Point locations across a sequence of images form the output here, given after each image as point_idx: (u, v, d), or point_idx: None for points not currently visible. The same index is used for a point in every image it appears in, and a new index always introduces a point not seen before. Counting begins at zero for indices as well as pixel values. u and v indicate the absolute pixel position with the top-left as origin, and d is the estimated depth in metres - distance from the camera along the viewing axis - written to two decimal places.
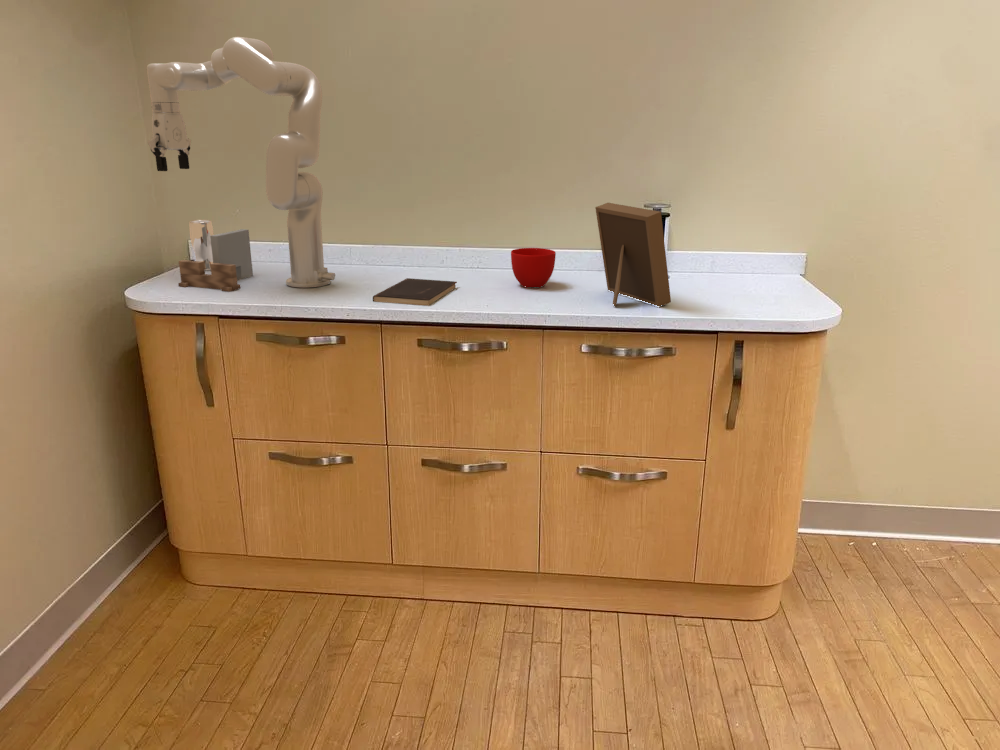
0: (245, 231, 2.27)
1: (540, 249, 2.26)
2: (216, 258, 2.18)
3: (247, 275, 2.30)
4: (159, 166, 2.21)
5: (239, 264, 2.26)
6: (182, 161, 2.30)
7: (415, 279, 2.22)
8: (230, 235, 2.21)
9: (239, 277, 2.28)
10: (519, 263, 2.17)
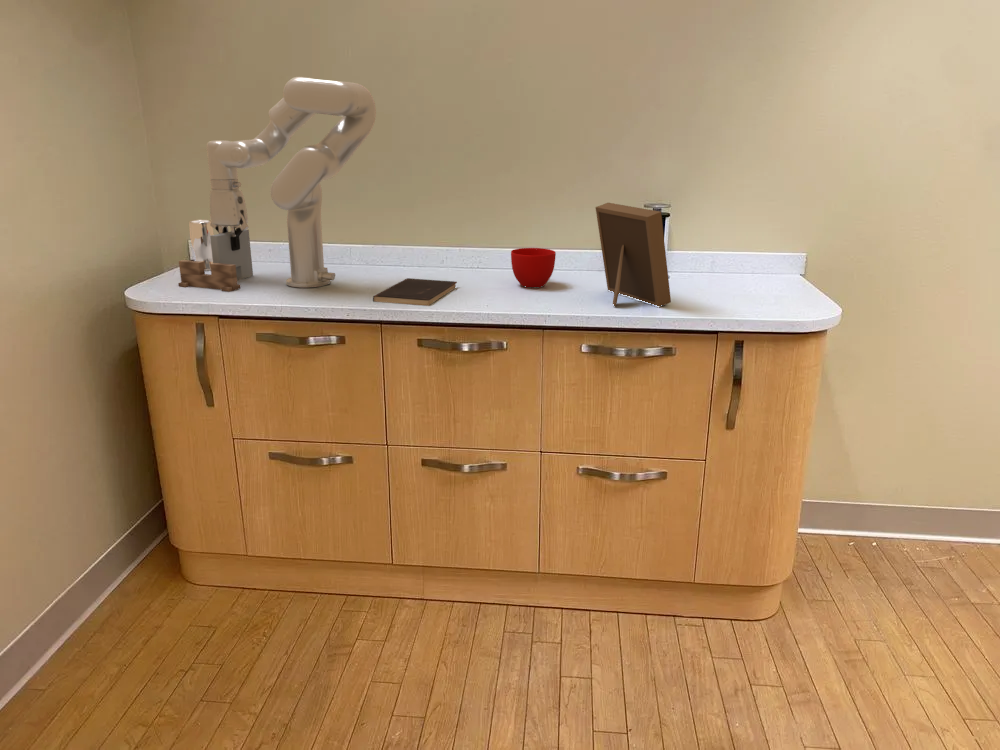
0: (245, 231, 2.27)
1: (540, 249, 2.26)
2: (216, 258, 2.18)
3: (247, 275, 2.30)
4: (238, 245, 2.23)
5: (239, 264, 2.26)
6: None
7: (415, 279, 2.22)
8: (230, 235, 2.21)
9: (239, 277, 2.28)
10: (519, 263, 2.17)
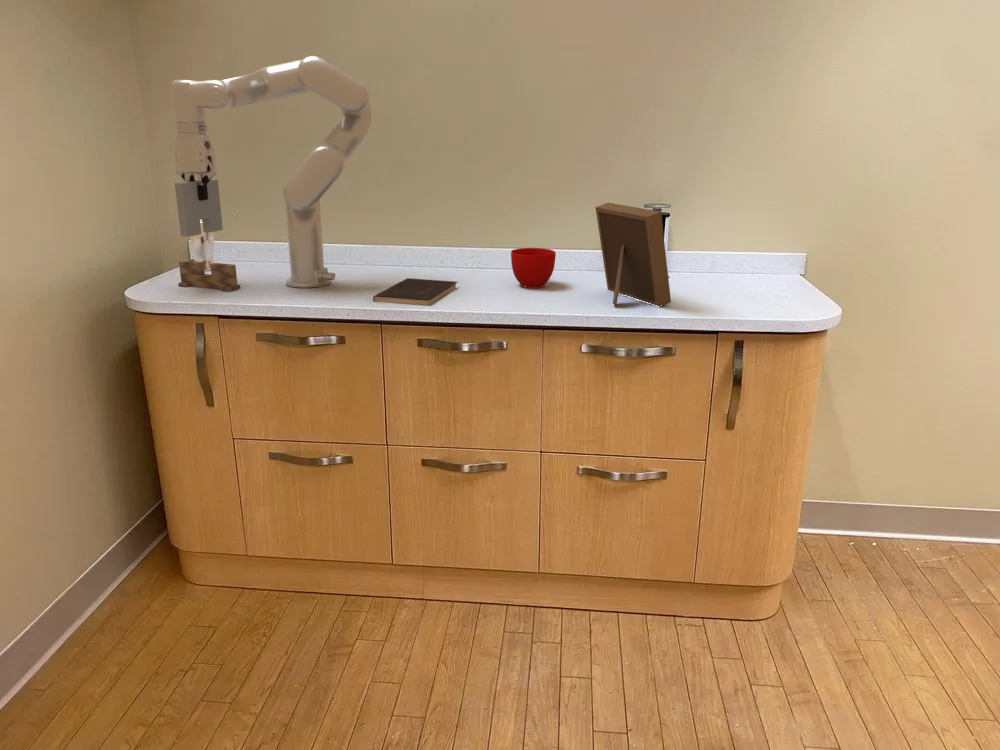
0: (214, 181, 2.12)
1: (540, 249, 2.26)
2: (181, 207, 2.03)
3: (216, 229, 2.16)
4: (205, 195, 2.08)
5: (207, 216, 2.11)
6: None
7: (415, 279, 2.22)
8: (197, 183, 2.06)
9: (207, 230, 2.14)
10: (519, 263, 2.17)
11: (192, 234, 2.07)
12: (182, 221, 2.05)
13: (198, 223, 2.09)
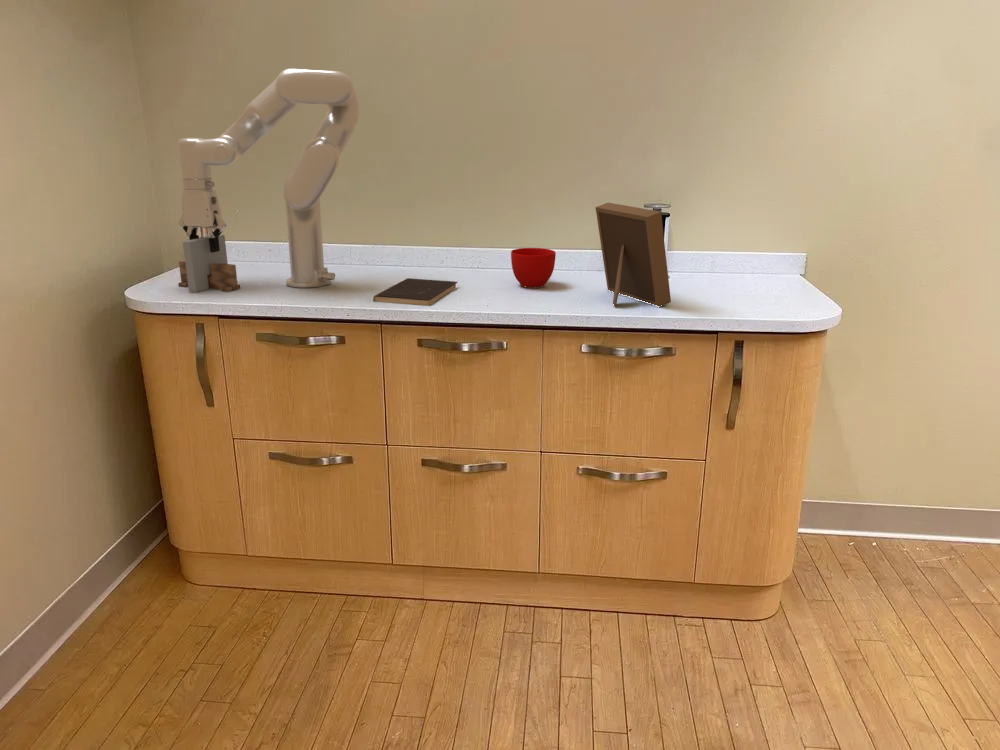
0: (221, 236, 2.17)
1: (540, 249, 2.26)
2: (189, 265, 2.08)
3: None
4: (217, 247, 2.12)
5: None
6: None
7: (415, 279, 2.22)
8: (204, 240, 2.11)
9: None
10: (519, 263, 2.17)
11: (200, 290, 2.12)
12: (190, 278, 2.10)
13: (206, 278, 2.14)
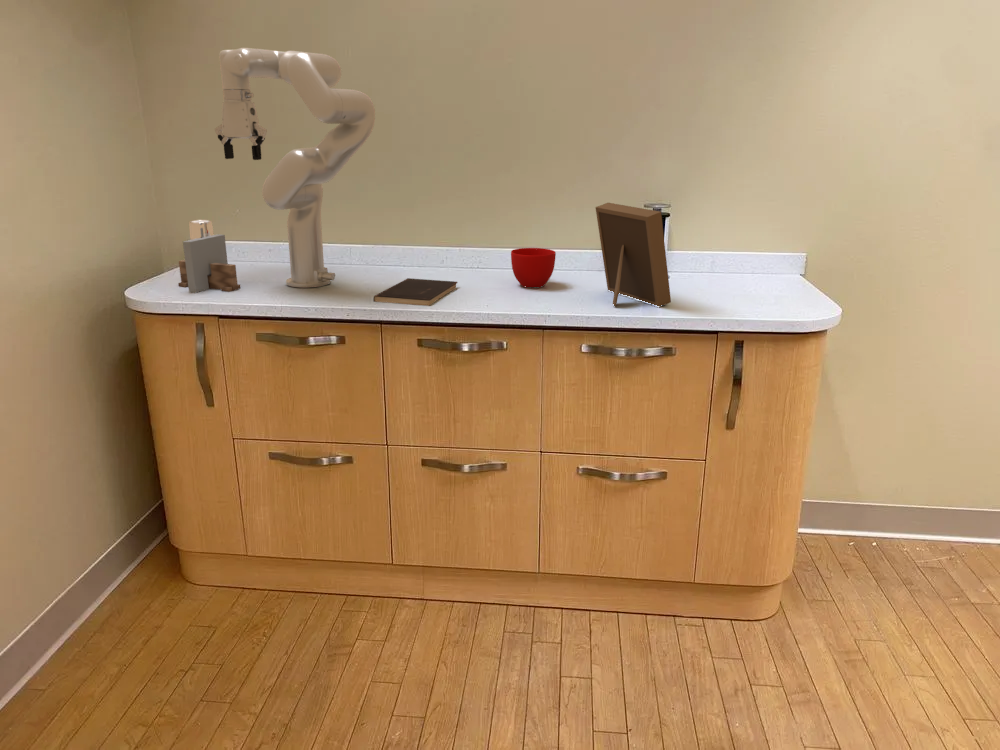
0: (221, 236, 2.17)
1: (540, 249, 2.26)
2: (189, 265, 2.08)
3: None
4: (259, 155, 2.20)
5: None
6: (229, 151, 2.23)
7: (416, 279, 2.22)
8: (204, 240, 2.11)
9: None
10: (519, 263, 2.17)
11: (200, 290, 2.12)
12: (190, 278, 2.10)
13: (206, 278, 2.14)
